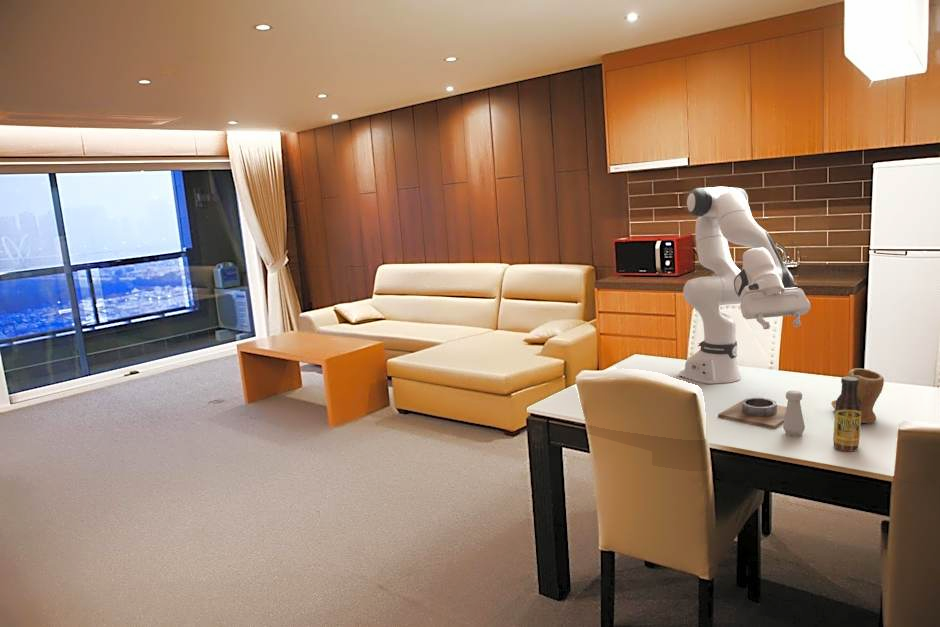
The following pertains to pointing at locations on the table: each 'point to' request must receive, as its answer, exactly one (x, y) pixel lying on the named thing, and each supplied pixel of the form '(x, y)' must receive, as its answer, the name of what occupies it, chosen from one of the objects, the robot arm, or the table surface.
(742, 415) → the keeper plate
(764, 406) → the keeper collar
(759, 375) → the table surface
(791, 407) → the salt shaker
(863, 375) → the stone cup
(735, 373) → the robot arm
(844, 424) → the sauce bottle
